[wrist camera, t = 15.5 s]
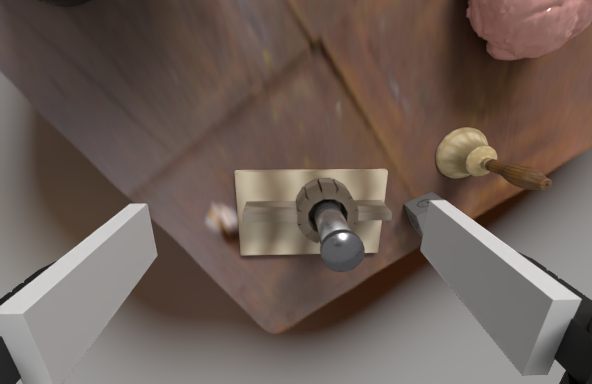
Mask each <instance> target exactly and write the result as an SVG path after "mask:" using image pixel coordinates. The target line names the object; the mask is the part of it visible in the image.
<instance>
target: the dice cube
mask: <svg viewBox="0 0 592 384" xmlns="http://www.w3.org/2000/svg"><path fill="white" fill-rule="evenodd" d="M430 200H443V199H442V198H440V197H439V196H438V195H436V194H435V193H433V192H430V193H427V194H425V195H423V196H420V197H418V198H416V199H413V200H411V201H409V202H406V203H404V206H405V209H406V211H407V214H408V217H409V220H410V222H411V225H412V227H413V228H414V230H415V231H416V232H417V233H418V234H419V235H420V236H421V237H422V238H423V233H424V228H425V222H426V217H427V211H428V206H429V201H430Z"/></svg>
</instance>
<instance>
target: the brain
mask: <svg viewBox="0 0 592 384" xmlns="http://www.w3.org/2000/svg"><path fill="white" fill-rule="evenodd" d="M467 3H468V5H469V8H467V16H466V17H468V18H469V21H470V24H471V26H472V28H473V30H474V31H475V32H476V33H477V35H478V37H482V39H484V40H486V41H487V44H486V50H487V52H488V53H489V54H490V55H491V56H492V57H493V58H494V59H498V60H506V61H511V60H519V59H523V58H534V59H535V58H538V57H542V56H544V55H546V54H548V53H551V52H554V51H556V50H557V49H559V48H560V47H562V46H563V45H564V43H566V42H567V41H568V40H570V39H572V38H574V37H575V36H577V35H578V34H580V33H581V32H582V31H583V30H585V29H586V28H587V27H588V26H589V25H590V24H591V22H592V0H469V1H468V2H467Z"/></svg>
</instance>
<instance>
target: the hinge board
mask: <svg viewBox="0 0 592 384" xmlns="http://www.w3.org/2000/svg"><path fill="white" fill-rule="evenodd" d="M387 175H388V171H387V170H386V169H315V170H236V171H235V184H236V197H237V210H238V223H239V236H240V250H241V255H283V254H320V245H321V239H320V235H319V232H318V228H317V225H316V222H315V218H314V215H313V211H312V207H313V205H314V204H315V203H317V202H319V201H321V200H323V199H335V201H336V203H337V205H338V207H339V209H340V210H341V212H342V214H343V216H344V218H345V220H346V222H347V224H348V226H349V227H350V229H351V231H353V232H354V233H356V234H357V235H358V236H359V237H360V239H361V241H362V242H363V245H364V248H365V253H378V247H379V239H380V231H381V223H382V220H391V218H392V212H391V211H390V210H389V208H388V207H387V206H386V205H385V204H384V199H385V191H386V183H387Z"/></svg>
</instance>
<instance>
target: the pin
mask: <svg viewBox="0 0 592 384" xmlns="http://www.w3.org/2000/svg"><path fill="white" fill-rule="evenodd" d="M312 211H313V215H314V218H315V222H316V225H317V228H318V232H319V235H320V239H321V245H320V254H321V258H322V261H323V263H324V264H325V266H326V267H328V268H329V269H331V270H333V271H337V272H345V271H349V270H352V269H354V268H355V267H357V266H358V265H359V264H360V263H361V261H362V260H363V257H364V254H365V248H364V245H363V242H362V241H361V239H360V237H359V236H358V235H357V234H356V233H354V232H353V231H351V229H350V227H349V226H348V224H347V222H346V220H345V218H344V216H343V214H342V212H341V210H340V209H339V207H338V205H337V203H336V201H335V199H323V200H321V201H319V202H317V203H315V204H314V205H313V207H312Z"/></svg>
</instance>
